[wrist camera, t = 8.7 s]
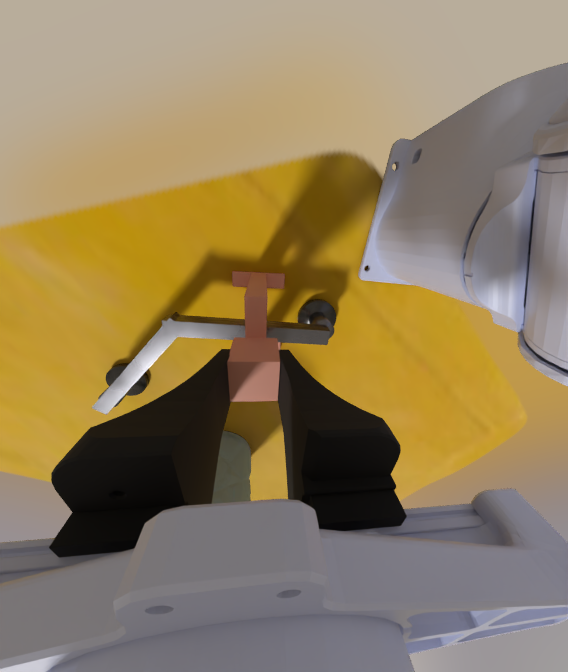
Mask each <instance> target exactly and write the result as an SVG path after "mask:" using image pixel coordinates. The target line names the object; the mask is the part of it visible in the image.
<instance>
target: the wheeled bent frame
mask: <svg viewBox="0 0 568 672" xmlns="http://www.w3.org/2000/svg"><path fill="white" fill-rule="evenodd" d="M335 321H336V313H335V310H334V308H333V307H332V306H331V305H330V304H329V303H328V302H326V301H324V300H320V299H315V300H311V301H309V302H307V303H305V304H304V305H303V306H302V307H301V309H300V311H299V313H298V323H290V322H275V321H267V326H266V338H277V340H278V342H283V343H302V344H320V345H327V344H328V340H329V338H330V337H331V336H332V335H333V333H334V327H333V326H334V324H335ZM162 325H163V326H162V327H161V328H160V329H159V330H158V332H157V333H156V334H155V335H154V336H153V337H152V339H151V340H150V341H149V342H148V343H147V344H146V345H145V347H144V348H143V349H142V350H141V351H140V352H139V354H138V355H137V356H136V357H135V358H134V359H133V361H132V362H131V363H130V364H126V363H123V364H118V365H116V366H114V367H113V368H112V369H111V370H109V371H108V373H107V374H106V382H107V384H108V385H109V387H108V388H107V389H106V390H105V391H104V392H103V393H102V394H101V395H100V396H99V398H98V399H99V400H98V401H97V402H96V403H95V404H94V406H93V407H92V408H93V409H95V410H97V411H100V412H102V413H104V414H106V415H107V414H108V412H109V411H110V410H111V409H112V408H113V407H116V406H117V405H118V404H119V403H120V402H121V401H122V400H123V398H124V397H125V396H126V395H129V396H133V395H138V394H140V393H142V392H143V391H144V390H145V388H146V387H147V386H148V383H149V379H148V376H147V374H146V373H145V372H146V371H147V370H148V369H149V367H150V366H151V365H152V364H153V363H154V362H155V361H156V360H157V359H158V358H159V356H160V355H161V354H162V353H163V352H164V351H165V350H166V349H167V348H168V347H169V345H170V344H171V343H172V342H173V341H174V340H175V339H176V338H177V337H190V338H209V339H227V340H233V339H234V337H241V338H245V319H230V318H215V317H200V316H185V315H180V314H178V313H177V312H175V313H174V314H173V315H170V314H169V315H168V316H167V317H165V318H164V319H163V320H162Z"/></svg>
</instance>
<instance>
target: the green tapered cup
mask: <svg viewBox="0 0 568 672" xmlns="http://www.w3.org/2000/svg"><path fill="white" fill-rule="evenodd" d="M250 473H251V450H250V447H249V444H248V443H247V441H246V440H245V439H243V438H242V437H241V436H239V435H237V434H235V433H232V432H228V431H223V433H222V438H221V444H220V450H219V456H218V463H217V470H216V476H215V483H214V491H213V498H212V504H216V503H230V502H244V501H251V500H250V494H251V490H250V480H249V476H250Z"/></svg>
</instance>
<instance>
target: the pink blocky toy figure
mask: <svg viewBox="0 0 568 672" xmlns="http://www.w3.org/2000/svg"><path fill="white" fill-rule="evenodd" d="M232 281H233V286H235V287H247V290H246V293H245V338H241V337H234V339H233V343H232V346H231V350H230V353H229V355H230V356H229V359H228V361H227V366H228V380H229V394H230V402H240V401H247V402H253V401H278V388H279V373H280V356H279V350H280V343H281V342H278V340H277V338H266V326H267V288H282V289H284V281H285V274H281V273H261V272H241V271H232Z"/></svg>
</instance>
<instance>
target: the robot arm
mask: <svg viewBox="0 0 568 672" xmlns="http://www.w3.org/2000/svg"><path fill="white" fill-rule="evenodd" d="M393 163H395V164H396V170H395V171H394V170H393V169H392V165H393ZM367 265H368V269H367V270H366V271H365V270H364V268H365V266H367ZM358 276H359V278H360V279H362V280H367V281H377V282H387V283H398V284H408V285H418V286H420V287H423V288H426V289H429V290H432V291H435V292H438V293H441V294H444V295H447V296H450V297H453V298H456V299H458V300H461V301H465V302H467V303H471V304H473V305H476V306H479V307H482V308H485V309H487V310H489V311H490V313H491V314H492V316H493V322H494V323H495V324H498V325H500V326H503V327H505V328H508V329H511V330H513V331H516V332H518V347H519V350H520V353H521V354H522V355H523V357H524V358H525V359H526V361H527V362H528V363H529V364H531V365H532V366H533V367H534V368H535V369H537V370H538V371H540V372H541V373H543V374H544V375H546V376H547V377H550V378H551V379H553V380H555V381H557V382H559V383H561V384H563V385H566V386H568V63H565V64H560V65H557V66H553V67H550V68H546V69H543V70H540V71H536V72H534V73H531V74H528V75H525V76H522V77H520V78H517V79H515V80H512V81H510V82H507V83H505V84H503V85H501V86H499V87H497V88H495V89H494V90H492V91H490V92H488V93H487V94H485V95H483V96H481V97H480V98H478V99H477V100H475V101H473V102H472V103H471V104H469V105H467V106H465V107H464V108H462V109H461V110H459V111H457V112H456V113H454V114H453V115H451V116H450V117H448V118H446V119H445V120H443V121H441V122H440V123H438V124H437V125H435V126H433V127H432V128H430V129H429V130H427V131H425V132H424V133H422V134H421V135H419V136H417V137H416V138H414V139H413V140H408V139H399V140H397V141H396V142H395V143H394V144H393V146H392V148H391V151H390V155H389V159H388V163H387V167H386V171H385V174H384V178H383V182H382V186H381V190H380V193H379V197H378V201H377V205H376V209H375V213H374V216H373V220H372V224H371V228H370V232H369V235H368V239H367V243H366V247H365V251H364V255H363V258H362V262H361V266H360V270H359V275H358ZM230 350H231V349H222V350H220V351H219V352H218V353H217V354H216V355H215V356H214V357H213V358H212V359H211V360H210V361H209V362H208V363H207V364H206V365H205V366H204V367H202V368H201V369H200V370H199V371H198V372H197V373H195V374H194V375H193V376H192V377H190V378H189V379H188V380H186V381H185V382H184V383H182V384H181V385H179V386H178V387H176V388H175V389H173V390H171V391H170V392H168V393H166V394H164V395H163V396H161V397H159V398H157V399H156V400H154V401H152V402H150V403H148V404H146V405H144V406H142V407H140V408H138V409H135V410H133V411H131V412H129V413H127V414H124V415H122V416H120V417H117V418H115V419H112V420H109V421H107V422H104V423H102V424H99V425H97V426H94V427H91V428H90V429H89V430H88V431H87V432H86V433H85V434H84V435H83V436H82V438H81V439H80V440H79V441H78V442H77V443H76V444H75V445H74V447H73V448H72V449H71V450H70V451H69V452H68V453H67V454H66V456H65V457H64V458H63V459H62V460H61V461H60V462H59V463H58V465H57V466H56V467H55V469H54V470H53V472H52V479H51V481H52V484H53V486H54V488H55V490H56V491H57V493H58V494H59V495H60V496H61V498H62V499H63V500H64V502H65V503H66V504H67V506H68V507H69V508H70V510H71V511H72V512H73V513H72V514H71V516H70V517H69V518H68V520H67V521H66V523H65V524H64V526H63V527H62V529H61V530H60V532H59V533H58V535H57V536H56V538H50V539H38V540H26V541H15V542H2V543H0V672H415V671H414V668H413V665H412V663H411V660H410V657H409V655H410V654H414V653H419V652H423V651H428V650H433V649H437V648H442V647H447V646H451V645H456V644H460V643H465V642H469V641H474V640H478V639H483V638H488V637H493V636H498V635H502V634H507V633H513V632H517V631H522V630H528V629H534V628H540V627H545V626H551V625H556V624H558V623H561V622H563V621H566V620H568V542H567V541H566V540H565V539H564V538H563V537H562V536H561V535H560V534H559V533H558V532H557V531H556V530H555V529H554V528H553V527H552V526H551V525H550V524H549V523H548V522H547V521H546V520H545V519H544V518H543V517H542V516H541V515H540V514H539V513H538V512H537V511H536V510H535V509H534V508H533V507H532V506H531V505H530V504H529V503H528V502H527V500H526V499H525V498H524V497H523V496H522V495H521V494H519V492H518V491H516V489H513V488H507V489H495V490H494V489H493V490H486V491H482V492H480V493H478V494H477V495H476V496H475V497H474V498H473V500H472V502H471V504H460V505H447V506H436V507H423V508H411V509H403V507H402V505H401V504H400V501H399V499H398V497H397V495H396V494H395V492H394V490H395V488H396V484H395V482H394V480H393V478H392V477H391V475H390V474H391V472H392V470H393V468H394V466H395V464H396V462H397V460H398V458H399V455H400V451H401V450H400V444H399V443H398V441H397V439H396V438H395V436H394V435H393V433H392V431H391V430H390V428H389V427H388V425H387V424H386V423H385V421H384V420H383V419H382V418H380V417H377V416H375V415H373V414H371V413H368V412H366V411H364V410H362V409H360V408H358V407H356V406H354V405H352V404H350V403H348V402H347V401H345V400H343V399H341V398H340V397H338V396H337V395H335V394H334V393H332V392H331V391H329V390H328V389H326V388H325V387H324V386H323V385H321V384H320V383H319V382H317V381H316V380H315V379H314V378H313V377H312V376H311V375H310V374H309V373H308V372H307V371H306V370H305V369H304V368H303V367H302V366H301V365H300V363H299V362H298V361H297V360H296V359H295V357H294V356H293V355H292V353H291V352H290V351H289V350H279V356H280V373H279V388H278V403H279V408H280V414H281V420H282V425H283V432H284V443H285V456H286V470H287V486H288V499H272V500H258V501H244V502H230V503H216V504H212V498H213V491H214V483H215V476H216V470H217V463H218V456H219V450H220V444H221V438H222V433H223V429H224V425H225V421H226V418H227V414H228V410H229V406H230V394H229V380H228V366H227V361H228V359H229V356H230V355H229V353H230Z"/></svg>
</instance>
